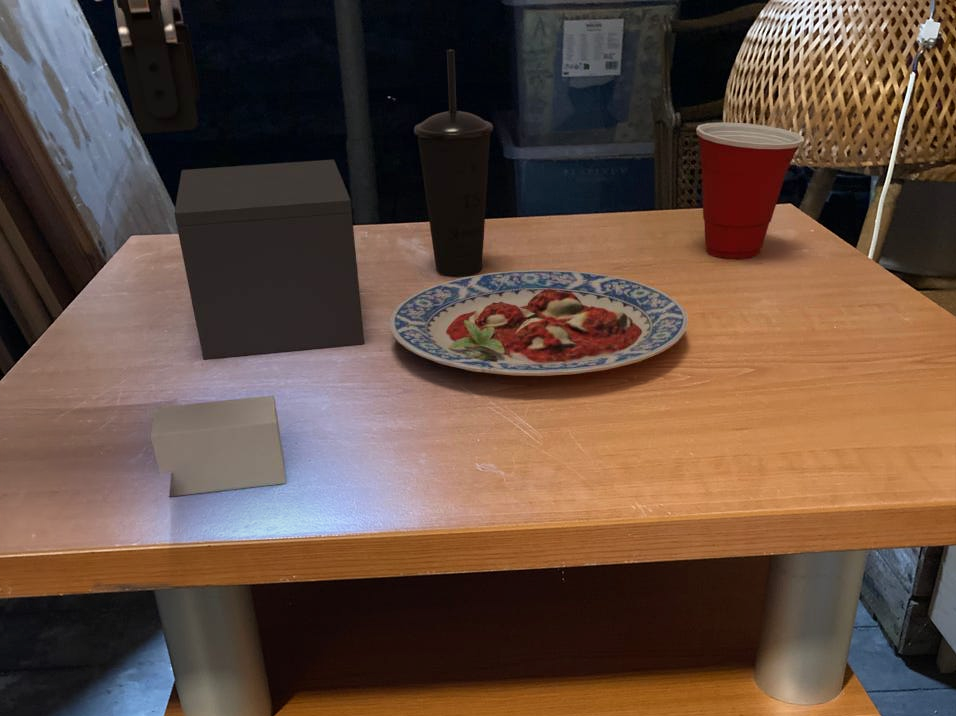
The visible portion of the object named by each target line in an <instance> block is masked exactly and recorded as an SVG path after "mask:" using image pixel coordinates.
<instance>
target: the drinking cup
mask: <svg viewBox="0 0 956 716" xmlns="http://www.w3.org/2000/svg"><path fill="white" fill-rule="evenodd" d="M446 57H447V58H446V59H447V60H446V61H447V62H446V63H447V83H448V109H449V110H448V111H443V112H439V113H436V114H433V115H431V116H429V117H428V118H426V119H425V120H423V121H422V122H420V123H418V124H416V125H414V128H413V133H414V135H415V136H417V141H418V149H419V157H420V165H421V171H422V178H423V185H424V192H425V199H426V207H427V213H428V222H429V228H430V235H431V236H430V237H431V242H432V250H433V251H432V252H433V257H434V265H435V271H436V272H437V273H438V274H440V275H441V276H442V275H443V276H446V277H470V276H474V275H477V274H478V273H480V272H482V270H483V255H484V241H485V226H486V210H487V209H486V208H487V207H486V206H487V190H488V174H489V160H490V159H489V158H490V144H491V143H490V141H491V134H492V133H493V131H494V126H493V123H492V122H489V121H487V120H485V119H483V118H481V117H480V116H478V115H476V114H473V113H471V112H467V111H461V110H457V92H456V91H457V89H456V61H455V49H447V50H446Z"/></svg>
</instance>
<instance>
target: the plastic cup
mask: <svg viewBox="0 0 956 716" xmlns="http://www.w3.org/2000/svg"><path fill="white" fill-rule="evenodd" d="M695 131H696V135H697V136H698V143H699V152H700V165H701V187H702V188H701V194H702V219H703V221H704V222H703V223H704V245H705V248H706V250H705V251H706V252H707V253H708V254H709V255H712V256H714V255H715V256H714V257H716V256H718V257H717V258H722V257H725V258H724V259H732V258H741V259H749V257H750V258H753V257H752V256H754V257H756V256H758V255H759V254H760V252H761V249H762V248H763V246H764V243H765V239H766V236H767V232H768V228H769V225H770V223H771V222H772V218H773V216H774V212H775V209H776V206H777V203H778V200H779V197H780V193H781V191H782V187H783V184H784V181H785V179H786V174H787V171H788V170H789V168H790V165H791V162H792V160H794V157H795V154H796V153H797V151H798V149H799V147H800V146H801V147H802V145H803V143H804V142H805V137H804V136H803V135H801V134H799V133H797V132H794V131H790V130H788V129H784V128H781V127H780V128H779V127H774V126H769V125H763V124H756V123H755V124H754V123H745V122H723V121H721V122H707V123H703V124H699V125H697V127H696V129H695Z"/></svg>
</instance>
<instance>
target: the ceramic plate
mask: <svg viewBox="0 0 956 716" xmlns="http://www.w3.org/2000/svg"><path fill="white" fill-rule="evenodd" d="M688 326H689V315H688V313H687V311H686V309H685V308H684V307H683V305H682V304H681V303H680V301H678V300H676V299H675V298H673V297H672V296H670V295H669V294H667V293H665V292H663V291H662V290H660V289H658V288H656V287H652V286H651V285H648V284H645V283H642V282H638V281H636V280H630V279H627V278H623V277H619V276H614V275H608V274H606V275H605V274H601V273H594V272H589V271H576V270H560V269H559V270H558V269H557V270H556V269H531V270H530V269H529V270H528V269H525V270H509V271H500V272H499V271H498V272H489V273H482V274H476V275H470V276H463V277H459V278H457V279H453V280H449V281H447V282H446V281H445V282H442V283H439V284H435V285H432V286H430V287H428V288H427V287H426V288H425V289H422V290H420V291H418V292H416V293H414V294H413V295H411V296H409V297H407V298H406V299H405V300H403V301H402V302H400V303H399V304H398V305H397V307H396V308H395V309H394V310H393V311H392V313H391V316H390V317H389V328H390V332H391V334H392V336H393V337H394V339H395V341H396V342H398V343H399V344H400V345H401V346H403V348H405V349H407V350H408V351H410V352H412V353H414V354H416V355H417V356H419V357H421V358H424V359H427V360H430V361H433V362H435V363H438V364H440V365H445V366H448V367H453V368H457V369H461V370H465V371H470V372H475V373H485V374H486V373H487V374H496V375H506V376H519V377H520V376H523V377H525V376H529V377H530V376H531V377H533V376H534V377H548V376H549V377H550V376H551V377H552V376H563V375H565V376H566V375H580V374H586V373H593V372H600V371H601V372H602V371H606V370H611V369H616V368H619V367H624V366H627V365H632V364H635V363H640V362H642V361H645V360H648V359H649V358H652V357H654V356H656V355H658V354H661V353H663V352H666V351H667V350H668V349H670V348H671V347H672V346H674V345H675V344H677V343H678V342H679V341H680V340H681V339H682V338H683V337H684V335H685V333H686V332H687V329H688Z"/></svg>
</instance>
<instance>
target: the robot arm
mask: <svg viewBox="0 0 956 716" xmlns="http://www.w3.org/2000/svg"><path fill="white" fill-rule="evenodd" d="M94 1H95V2H103V0H94ZM113 5H114V6H113V7H114V12H115V19H116V26H117V31H118V35H119V36H118V37H119V41H120V45H121V46H119V47H118V51H119V55H120V58H121V63H122V67H123V68H122V69H123V72H124V77H125V81H126V86H127V90H128V95H129V99H130V103H131V108H132V112H133V117H134V121H135V126H136V128H137V130H138V132H140V133H141V134H144V135H145V134H146V135H147V134H148V135H149V134H158V133H160V134H161V133H171V132H182V131H183V132H184V131H193V130H195V129H196V128H197V127H198V124H199V119H198V113H197V107H196V103H197V102H198V101H199V100H200V99H201V89H200V83H199V78H198V73H197V68H196V62H195V57H194V52H193V46H192V40H191V35H190V29H189V25H188V24H184V17H183V11H182V7H181V2H180V0H113Z"/></svg>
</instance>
